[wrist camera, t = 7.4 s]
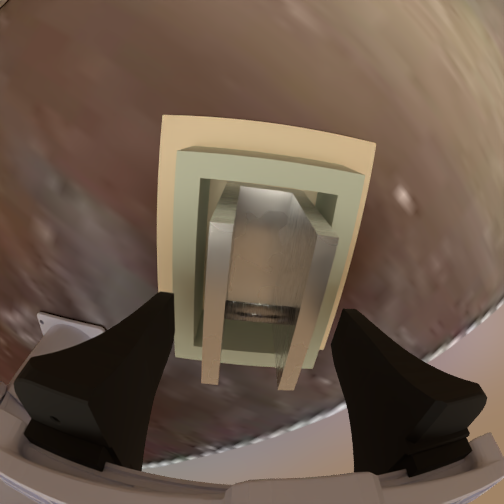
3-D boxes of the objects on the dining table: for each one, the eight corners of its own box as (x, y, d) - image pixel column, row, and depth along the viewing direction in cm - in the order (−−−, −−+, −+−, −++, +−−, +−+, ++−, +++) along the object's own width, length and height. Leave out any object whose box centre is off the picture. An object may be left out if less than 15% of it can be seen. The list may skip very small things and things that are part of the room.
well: (321, 341, 23) (333, 385, 19) (163, 327, 23) (147, 370, 18) (370, 142, 17) (407, 149, 12) (167, 115, 16) (138, 112, 12)
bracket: (280, 302, 21) (293, 390, 13) (216, 296, 20) (201, 382, 13) (302, 190, 17) (339, 237, 10) (227, 180, 17) (209, 221, 10)
